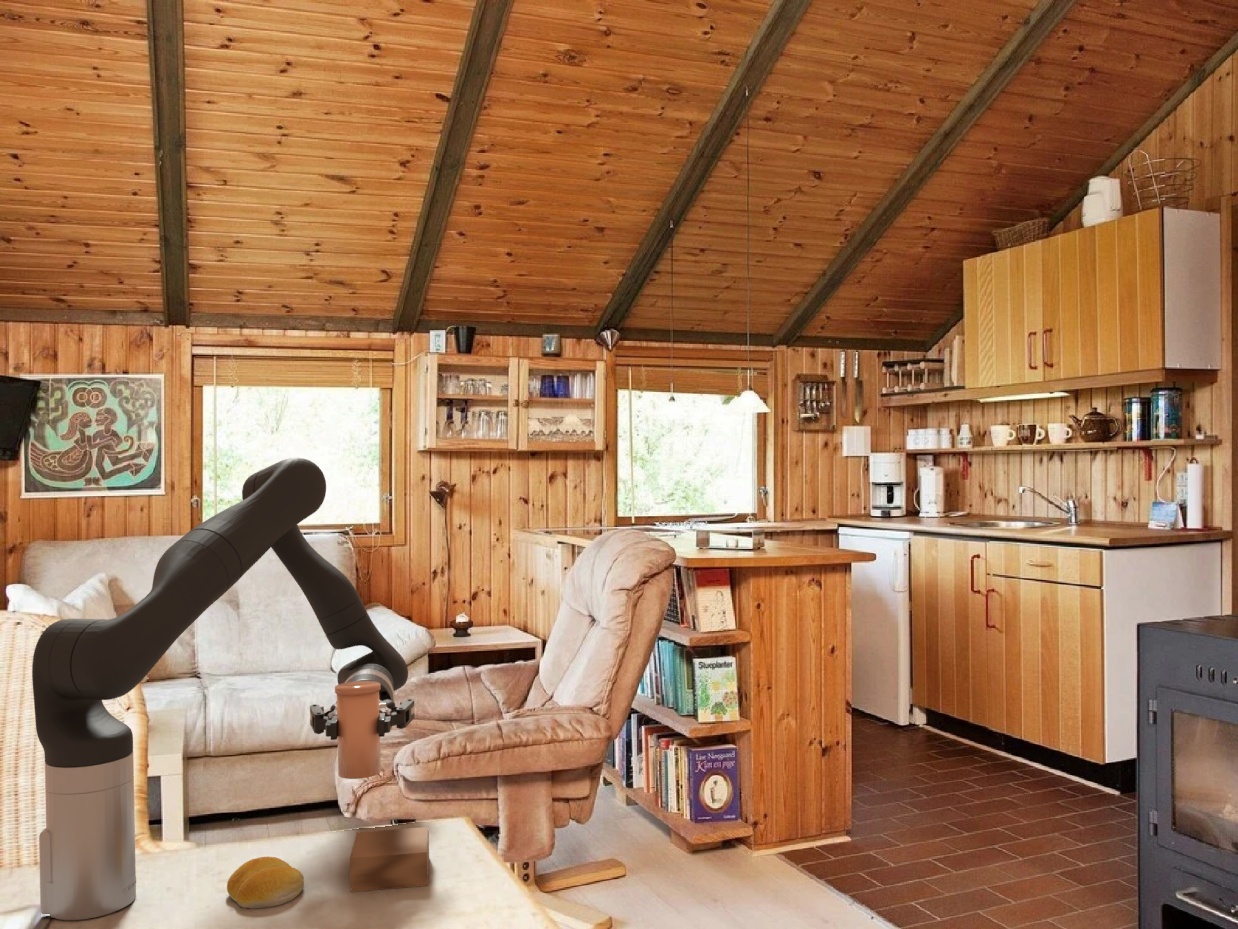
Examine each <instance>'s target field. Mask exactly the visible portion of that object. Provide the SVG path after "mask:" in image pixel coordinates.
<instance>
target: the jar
mask: <svg viewBox="0 0 1238 929" xmlns="http://www.w3.org/2000/svg"><path fill="white" fill-rule="evenodd" d="M380 689H381V685H380V683H379V682H374V681H355V682H347V683H342V684H339V685H338V684H336V685H335V686H334V693H335V694H336V701H337V722H338V737H337V771H338V774H337V775H338V776H339V777H340V778H342V779H346V780H349V779H350V780H353V779H354V780H357V779H358V780H359V779H360V780H361V779H366V778H371V777H374V776H377V775H379V774H380V773H381V769H382V768H381V766H382V765H381V764H382V763H381V762H382V761H381V737H379V731H378V719H379V690H380Z"/></svg>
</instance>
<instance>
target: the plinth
mask: <svg viewBox="0 0 1238 929" xmlns="http://www.w3.org/2000/svg"><path fill="white" fill-rule="evenodd" d="M429 836H430V830H429V826H424V827H423V826H422V827H409V828H395V829H381V830H380V829H379V830H370V831H369V830H366V831H357V832H356V834H355V838H354V842H353V846H352V848H351V852H350V856H349V876H350V877H349V881H350V884H349V886H350V887H349V888H350V893H353V892H365V891H366V892H367V891H376V890H389V889H390V890H391V889H399V888H400V889H401V888H413V887H424V886H425V887H426V886H428V882H429V869H430V868H429V867H430V838H429Z"/></svg>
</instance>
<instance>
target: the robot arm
mask: <svg viewBox="0 0 1238 929" xmlns="http://www.w3.org/2000/svg"><path fill="white" fill-rule="evenodd" d="M325 477H326V476H325V474H324V473H323V471H322V470H321V468H320V467H319V466H318V465H317V464H316V463H315V462H313V461H311V460H309V459H306V458H303V457H289V458H286V459H285V458H284V459H283V460H280V461H278V462H276V463H273V464H271V465H270V466H267V467H265V468H263V469H261V470H257V472H254V473H253V474H251V475H250V476H248V478H246V480H245V481H244V483H243V484H242V488H241V499H242V500H241V501H239V502H238V503H235V504H234V505H231V506H230V507H228V508H226V509H224V510H222V511H220V512H218V513H216V514H215V515H213V516H211V517H209V518H207V520H205V521H203V522H202V523H200V524H199V525H197V526H195V527H194V528H192V529H191V530H189V531H188V532H186V533H185V535H183V536H182V537H181V538H180V539H178V540H177V541H176V542H174V543H173V544H172V545H171V546H169V547H168V549H166V551H165V552H163V554H162V555H161V556H160V558H159V559H158V561H157V564H156V565H155V569H154V574H153V577H152V578H153V580H152V587H151V590H150V591H149V593H148V594H147V595H145V597H144V598H142V599H140V600H139V601H138V602H137V603H136V604H135V605H134V606H132V607H131V608H130V609H128V610H126V612H123V614H121V615H118V616H117V617H114V618H109V619H106V618H105V619H104V618H102V619H101V618H65V619H60V620H57V621H56V622H53V623H52V624H50V625H48V626H47V627H46V628H45V629H44V631H42V633H41V634H40V636H39V638H38V640H37V642H36V645H35V648H34V652H33V656H32V666H31V667H32V669H31V670H32V671H31V675H32V676H31V678H32V679H31V680H32V693H33V705H34V717H35V720H34V721H35V729H36V734H37V738H38V740H39V742H40V744H41V747H42V749H43V753H44V780H45V784H44V786H45V787H44V788H45V829H43V830H42V831H41V832H40V833H39V835H38V836H39V837H38V839H39V840H38V842H39V844H38V845H39V893H40V895H39V896H40V898H39V899H40V901H39V902H40V903H39V904H40V914H41V913H42V914H50V916H51V917H50V918H53V919H57V920H62V921H63V920H64V921H77V920H87V919H93V918H97V917H102V916H105V915H109V914H112V913H114V912H117V911H120V910H121V909H125V907H127V906H129V905H130V904H132V902H134V900H136V897H137V874H136V873H137V871H136V869H137V868H136V822H135V821H136V819H135V815H136V814H135V776H134V775H135V773H134V771H135V770H134V769H135V768H134V767H135V766H134V764H135V762H134V737H133V736H134V735H133V730H132V729H131V728H130V726H129V725H127V724H125V723H124V722H123V721H121V720H119V718H116V717H115V716H114V715H112V714H111V713H110V712H109V711H108V709H107V708H106V707H105V705H104V702H103V701H109V700H114V699H117V698H121V697H123V696H124V695H126V694H128V693H129V692H131V691H132V690H133V689H134V688H136V687H137V686H138V685H139V684H140V683H141V682H142V681H143V680H144V679H145V677H146V676H147V675H148V674H149V673H150V672H151V671H152V669H153V668H154V667H155V666H156V665H157V663H158V662H159V661H160V660H161V658H162V657H163V656H164V655H165V654H166V652H167V651H168V650H169V649H170V648H171V646H172V645H173V644H174V643H175V642H176V640H178V638H180V636H181V635H182V634H183V633H184V632H186V630H187V629H188V628H190V626H192V624H194V622H195V621H196V620H197V619H199V617H200V616H201V615H203V613H204V612H206V611H207V610H208V608H210V606H212V605H213V604H214V603H215V602H217V601H218V599H220V598H221V597H222V596H223V595H225V593H227V592H228V591H229V590H230V589H231V588H232V587H234V585H235V584H236V583H238V581H239V580H240V579H241V578H242V577H243V576H244V575H245V574H246V573H247V571H249V570H250V569H251V568H252V567H253V566H254V565H255V564H256V563H257V562H259V560H260V559H262V558H263V556H264V555H265V554H266V553H267V552H268V551H269V549H272V551H273V552H274V554H275V555H276V556H277V558H278V560H279V561H281V562H282V564H283V566H284V567H285V569H287V571H288V573H289V574H290V575H291V577H292V578H293V579H294V581H295V582H296V583H297V585H298V586H299V588H300V590H301V591H302V593H303V595H304V596H305V597H306V599H307V601H308V603H309V605H310V607H311V609H312V611H313V613H314V615H315V616H316V619H317V621H318V623H319V625H320V627H321V629H322V630H323V632H324V634H325V637H326V638H327V641H328V642H329V644H330V646H331V647H332V648H333V649H335V650H345V649H349V648H354V647H358V646H360V647H362V646H363V647H366V648H368V649H370V650H371V652H369V653H367V654H364V655H362V656H360V657H358V658H357V659H354V660H352V661H350V662H349V663H347V664H345V665H344V666H342V667H341V668H340V669H339V670H338V673H337V677H336V678H337V685H339V684H342V683H347V682H355V681H374V682H379V683H380V685H381V689H380V690H379V719H378V731H379V737H380V738H383V737H384V738H385V736H386V734H389V733H390V732H391V731H392V730H393V727H394V726H395V727H396V729H400V730H401V729H402V730H403V729H404V728H407V727H408V725H409V724H410V723H411V722H412V721H414V719H415V716H416V715H415V713H416V712H415V710H416V709H415V699H413V698H407V699H405V700H404V701H400V704H398V705H397V704H396V703H395V691H397V690H399V689H401V688H402V687H404V686H405V685H406V683H407V681H408V678H409V668H408V664H407V662H406V660H405V659H404V657H403V656H402V655H401V654H400V652H398V650H396V648H395V647H394V646H392V644H391V643H390V642H389V641H388V640H387V639H386V638H385V637H384V636H383V634H382V633H381V632H380V631H379V630H378V628H377V626H376V625H375V624H374V622H373V620H372V618H371V617H370V615H369V613H368V611H367V609H366V606H365V605H364V603H363V601H362V599H361V597H360V595H359V592H358V591H357V589H356V587H355V586H354V585H353V583H352V582H351V581H350V579H349V578H348V577H347V576H346V575H345V574H344V573H343V572H342V571H341V570H339V569H338V568H337V567H336V566H335V565H333V564H332V563H331V562H329V561H328V560H327V559H325V558H324V557H323V556H322V555H321V554H319V553H318V551H316V550H315V548H313V547H312V545H311V544H310V543H309V542H308V541H307V538H305V536H304V535H303V533H302V531H301V530H300V527H299V525H298V524H300V523H301V522H302V521H304V520H306V519H307V518H309V517H310V516H311V515H313V514H315V513H316V512H317V511H318V510H319V509H320V508H321V506H322V505H323V503H324V500H325V498H326V492H327V482H326V481H327V480H326V478H325ZM324 708H325V707H324V706H320V705H319V704H314V703H313V704H311V705H309V725H310V726H311V729H312V731H313V733H314V734H317V735H321V734H323V733H325V737H330V740H331V741H334V740H335V741H336V740H337V741H338V722H337V700H336V702H335V703H334V704H332V705H331V706H330V708H329V709H328V708H327V709H324Z"/></svg>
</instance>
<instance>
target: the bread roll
mask: <svg viewBox="0 0 1238 929" xmlns="http://www.w3.org/2000/svg"><path fill="white" fill-rule="evenodd" d="M304 879H305V878H304V875H303V873H302V872H301V871H300V870H299V869H298V868H296V867H294V866H292V865H291V864H289V863H288V862H286V861H285V860H283V859H281V858H279V857H274V856H261V857H257V858H253V859H250V860H248V861H246V862H244V863H243V864H242V865H240V866H239V867H238V868H237V869H236V870H235V871H234V872H233V873H232V874H231V876H230V877H229V878H228V880H227V882H226V884H227V885H226V890H227V893H228V895H229V896H230V897H231V899H232V900H233V901H234V902H236V903H237V904H238V905H239V906H240V908H244V909H263V908H264V909H265V908H271V907H278V906H280V905H284V904H287V903H289V902H291V901H292V900H294V899H295V898H296V897H297V896H298V895H300V893H301V892H302V891H303V889H304V883H305V882H304V881H305V880H304Z"/></svg>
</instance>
